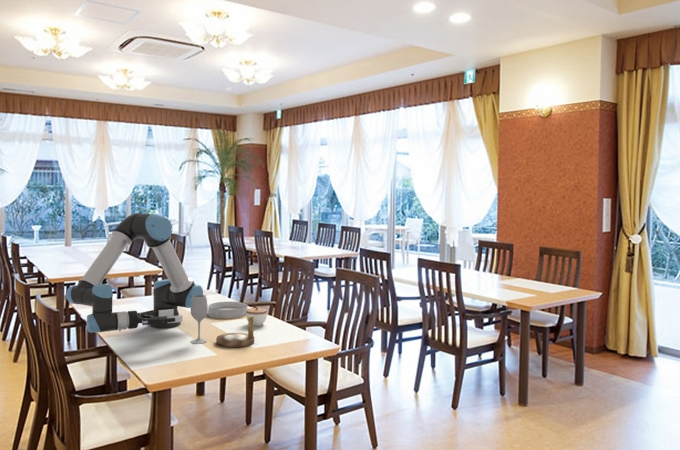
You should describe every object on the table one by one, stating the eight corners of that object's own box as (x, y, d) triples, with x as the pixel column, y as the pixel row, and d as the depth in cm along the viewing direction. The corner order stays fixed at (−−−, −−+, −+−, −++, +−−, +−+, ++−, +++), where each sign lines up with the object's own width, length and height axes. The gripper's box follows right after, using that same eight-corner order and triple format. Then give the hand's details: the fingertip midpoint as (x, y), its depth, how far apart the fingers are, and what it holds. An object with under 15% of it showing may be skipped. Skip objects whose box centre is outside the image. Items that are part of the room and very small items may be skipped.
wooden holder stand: (222, 349, 230) (223, 321, 229) (211, 339, 245) (212, 313, 244) (259, 344, 239) (260, 318, 238) (246, 335, 253) (247, 310, 253)
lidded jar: (262, 327, 269) (263, 309, 269) (242, 326, 271) (243, 308, 271) (269, 323, 280) (270, 305, 279) (250, 321, 282) (250, 304, 281)
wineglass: (192, 344, 237) (192, 298, 235) (188, 340, 243) (189, 295, 242) (209, 342, 240) (209, 297, 239) (205, 338, 247) (205, 294, 246)
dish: (244, 309, 312) (244, 300, 312) (250, 317, 292) (251, 308, 291) (206, 311, 305) (206, 302, 305) (209, 319, 284) (209, 310, 284)
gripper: (121, 322, 235) (169, 317, 246) (133, 335, 214) (185, 329, 225) (121, 305, 234) (170, 301, 246) (133, 317, 213) (186, 312, 225)
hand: (177, 315), depth 236 cm, fingers open, 13 cm apart
